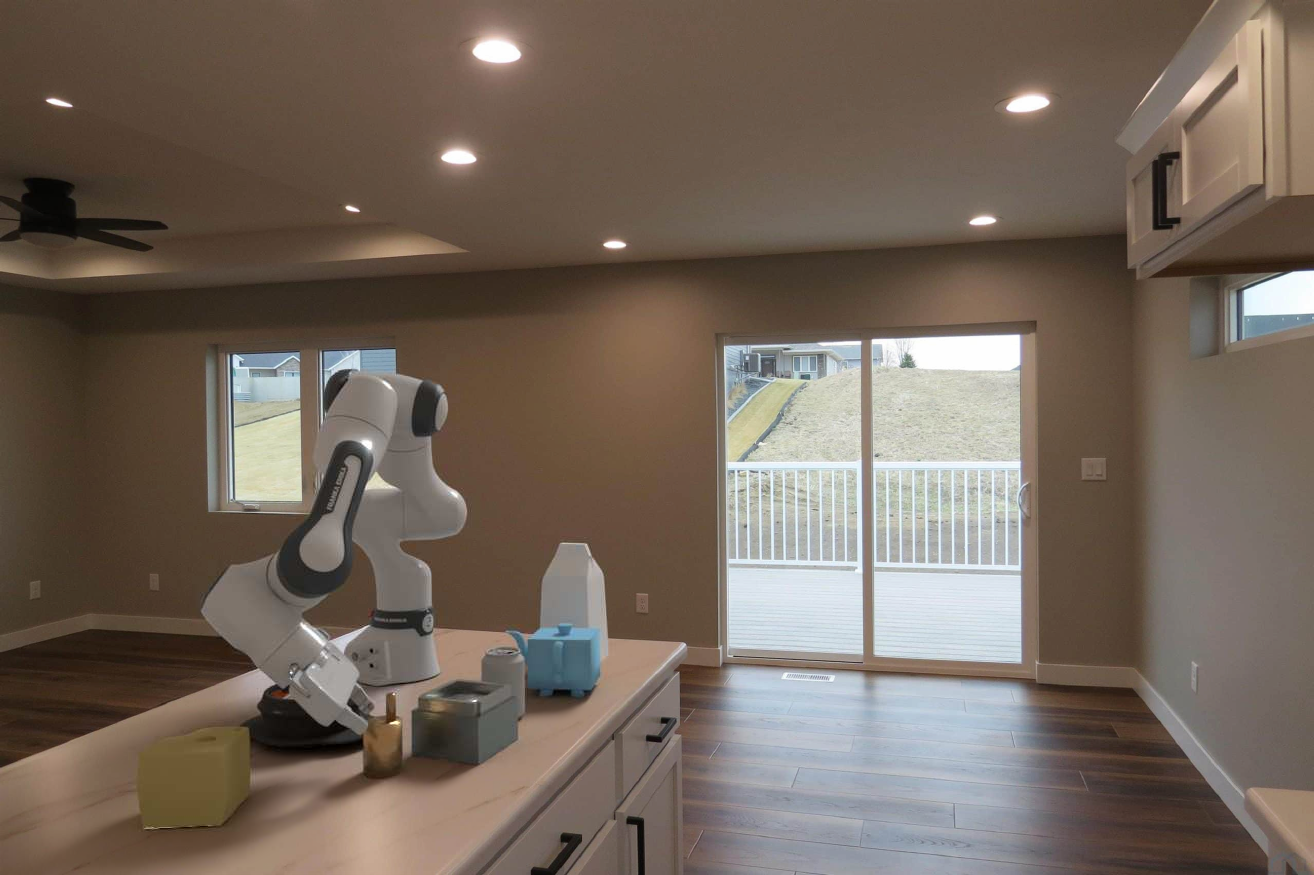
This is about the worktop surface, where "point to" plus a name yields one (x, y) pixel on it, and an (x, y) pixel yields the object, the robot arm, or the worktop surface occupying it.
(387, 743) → the spout can
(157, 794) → the cheese
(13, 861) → the worktop surface
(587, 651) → the teapot
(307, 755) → the worktop surface
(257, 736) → the casserole
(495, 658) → the can
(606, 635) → the milk
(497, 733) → the grey square box
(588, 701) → the worktop surface
